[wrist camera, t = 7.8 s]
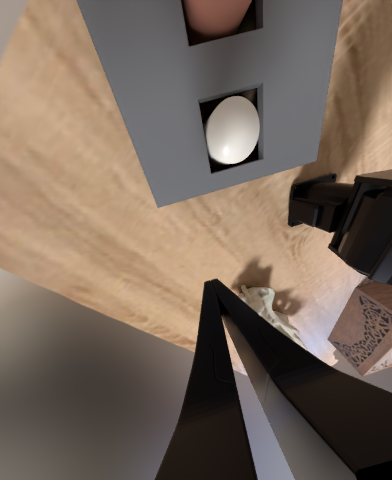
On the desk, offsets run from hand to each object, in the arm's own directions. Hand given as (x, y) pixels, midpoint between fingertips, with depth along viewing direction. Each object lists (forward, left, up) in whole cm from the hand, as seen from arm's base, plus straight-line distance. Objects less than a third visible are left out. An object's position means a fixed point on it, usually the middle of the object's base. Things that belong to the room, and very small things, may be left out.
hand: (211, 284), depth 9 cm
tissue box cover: (-43, +43, -12) cm, 62 cm away
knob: (-6, -8, -11) cm, 15 cm away
